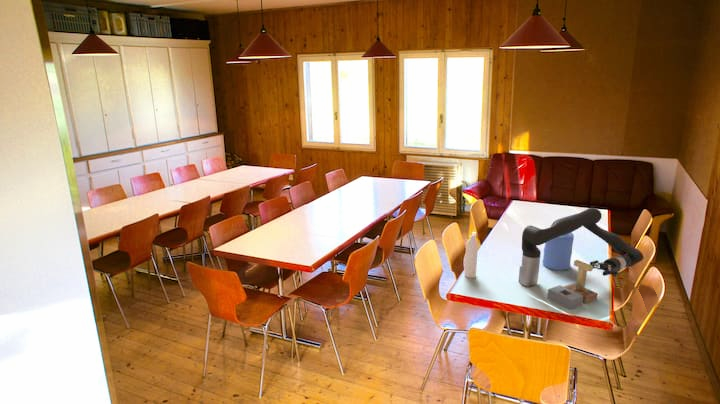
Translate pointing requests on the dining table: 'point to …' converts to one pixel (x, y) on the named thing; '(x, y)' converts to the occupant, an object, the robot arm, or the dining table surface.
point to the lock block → (583, 293)
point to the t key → (581, 274)
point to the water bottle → (471, 256)
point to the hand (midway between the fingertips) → (596, 270)
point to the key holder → (565, 297)
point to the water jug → (558, 252)
